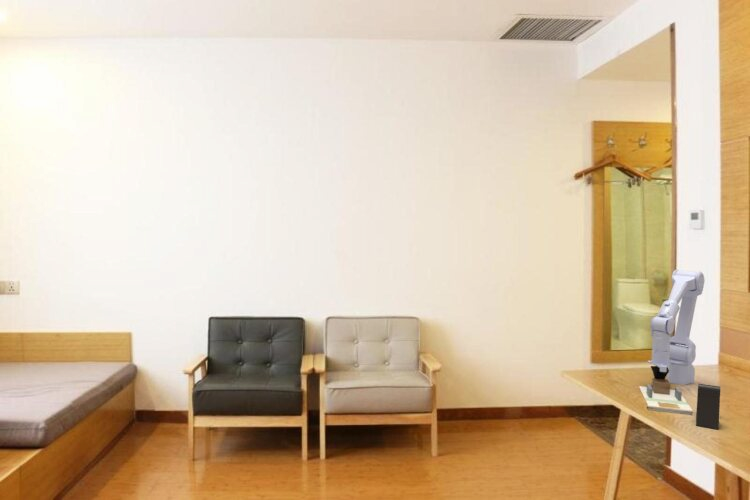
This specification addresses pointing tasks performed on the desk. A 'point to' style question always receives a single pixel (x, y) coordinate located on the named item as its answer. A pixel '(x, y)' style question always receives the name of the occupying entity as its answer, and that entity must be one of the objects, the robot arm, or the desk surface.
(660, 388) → the block
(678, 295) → the robot arm
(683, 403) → the pad
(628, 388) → the desk surface
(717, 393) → the black open bin
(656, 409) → the board
